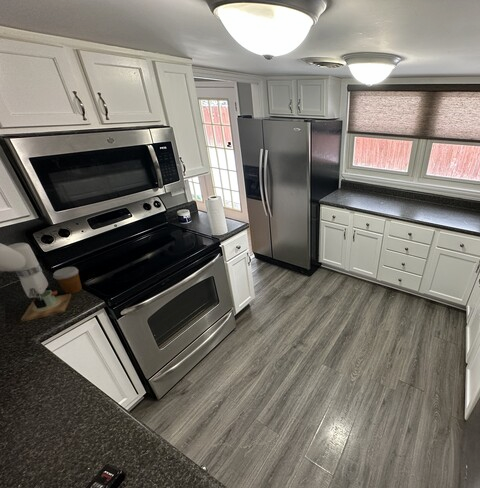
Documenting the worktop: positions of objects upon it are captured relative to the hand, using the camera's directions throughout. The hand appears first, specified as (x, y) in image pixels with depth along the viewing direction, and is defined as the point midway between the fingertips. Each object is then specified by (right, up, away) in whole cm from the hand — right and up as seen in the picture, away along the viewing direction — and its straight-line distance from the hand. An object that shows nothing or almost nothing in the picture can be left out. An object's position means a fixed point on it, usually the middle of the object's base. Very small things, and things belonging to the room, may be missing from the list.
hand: (45, 301), depth 123 cm
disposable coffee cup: (0, +2, +14) cm, 14 cm away
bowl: (0, -2, +1) cm, 2 cm away
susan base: (0, -3, +2) cm, 4 cm away
